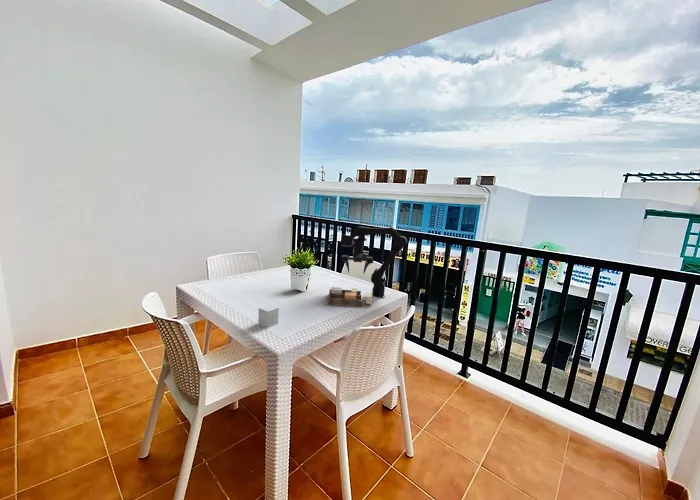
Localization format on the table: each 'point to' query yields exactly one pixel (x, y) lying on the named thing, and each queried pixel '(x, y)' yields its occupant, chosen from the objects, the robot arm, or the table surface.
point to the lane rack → (340, 299)
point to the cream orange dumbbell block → (353, 296)
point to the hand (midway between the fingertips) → (356, 273)
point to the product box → (268, 315)
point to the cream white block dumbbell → (339, 290)
